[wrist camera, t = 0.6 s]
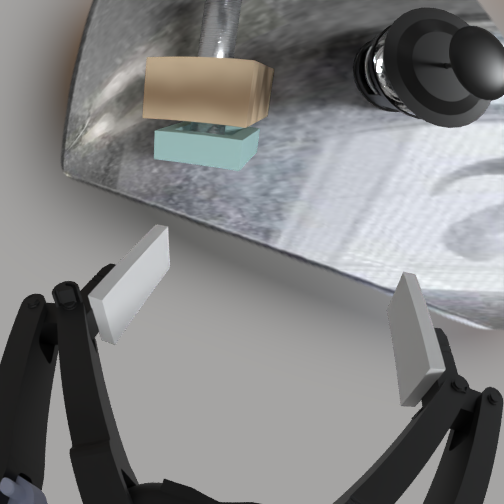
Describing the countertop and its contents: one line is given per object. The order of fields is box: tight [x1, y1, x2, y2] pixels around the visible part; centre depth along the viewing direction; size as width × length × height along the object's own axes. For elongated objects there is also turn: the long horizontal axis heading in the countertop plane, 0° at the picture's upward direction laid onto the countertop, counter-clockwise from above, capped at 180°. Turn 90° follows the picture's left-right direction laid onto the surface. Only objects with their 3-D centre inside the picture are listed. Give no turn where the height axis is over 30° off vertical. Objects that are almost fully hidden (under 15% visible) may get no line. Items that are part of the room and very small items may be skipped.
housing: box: [143, 57, 274, 128], centre depth 29 cm, size 6×10×12 cm, turn 83°
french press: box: [353, 8, 504, 128], centre depth 19 cm, size 12×9×23 cm
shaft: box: [191, 0, 242, 166], centre depth 27 cm, size 21×5×5 cm, turn 173°
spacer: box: [154, 121, 260, 171], centre depth 32 cm, size 3×9×9 cm, turn 83°
